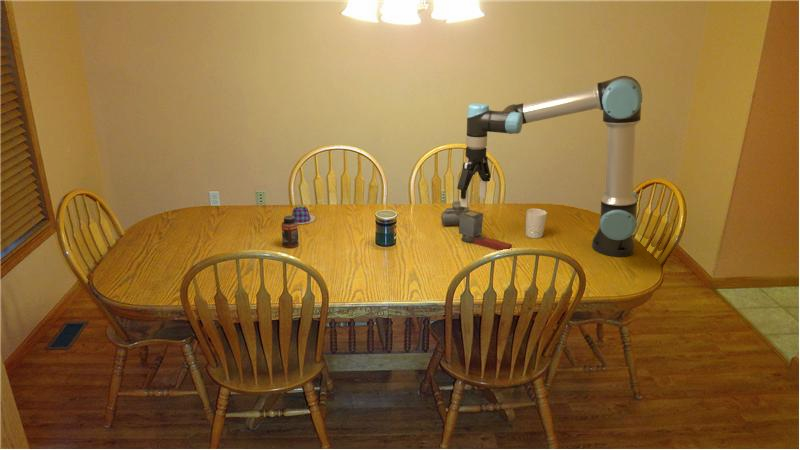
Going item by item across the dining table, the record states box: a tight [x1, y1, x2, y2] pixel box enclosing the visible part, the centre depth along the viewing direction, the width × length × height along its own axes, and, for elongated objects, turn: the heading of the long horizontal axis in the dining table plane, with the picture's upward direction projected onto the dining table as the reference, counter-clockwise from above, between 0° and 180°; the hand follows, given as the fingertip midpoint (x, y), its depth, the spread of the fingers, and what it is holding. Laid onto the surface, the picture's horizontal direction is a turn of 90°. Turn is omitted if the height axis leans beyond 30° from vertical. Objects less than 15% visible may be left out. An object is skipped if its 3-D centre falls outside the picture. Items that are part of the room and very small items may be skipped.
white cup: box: [525, 208, 548, 239], centre depth 232 cm, size 8×8×10 cm
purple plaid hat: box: [291, 206, 316, 225], centre depth 244 cm, size 12×12×5 cm
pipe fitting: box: [440, 200, 470, 227], centre depth 241 cm, size 12×8×10 cm
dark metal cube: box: [458, 209, 484, 237], centre depth 225 cm, size 6×6×8 cm
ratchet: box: [461, 234, 513, 251], centre depth 222 cm, size 20×6×7 cm, turn 53°
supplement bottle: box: [281, 214, 300, 249], centre depth 217 cm, size 6×6×11 cm
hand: (473, 201), depth 222 cm, fingers open, 13 cm apart
